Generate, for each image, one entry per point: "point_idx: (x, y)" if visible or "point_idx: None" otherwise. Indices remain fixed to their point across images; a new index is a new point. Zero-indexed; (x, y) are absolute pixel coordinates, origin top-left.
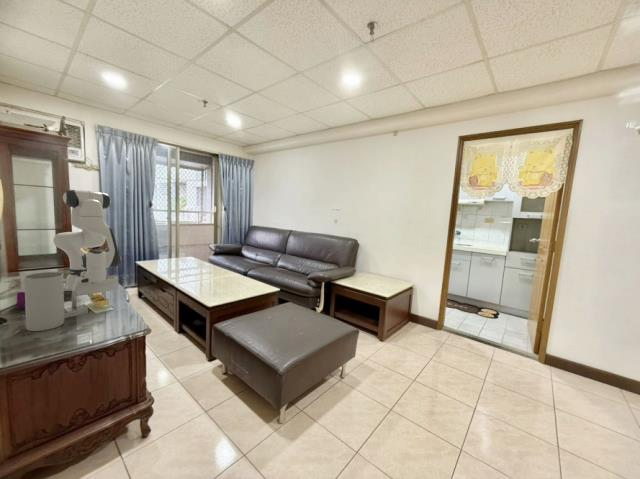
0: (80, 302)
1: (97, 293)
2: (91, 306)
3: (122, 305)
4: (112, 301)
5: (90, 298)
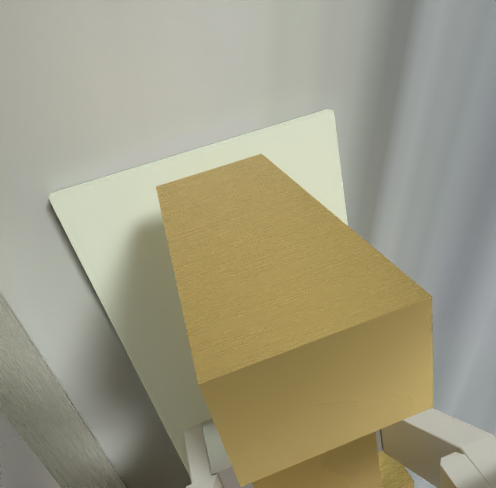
0: (17, 443)
1: (357, 448)
2: (190, 392)
3: (473, 403)
4: (448, 221)
5: (195, 481)
